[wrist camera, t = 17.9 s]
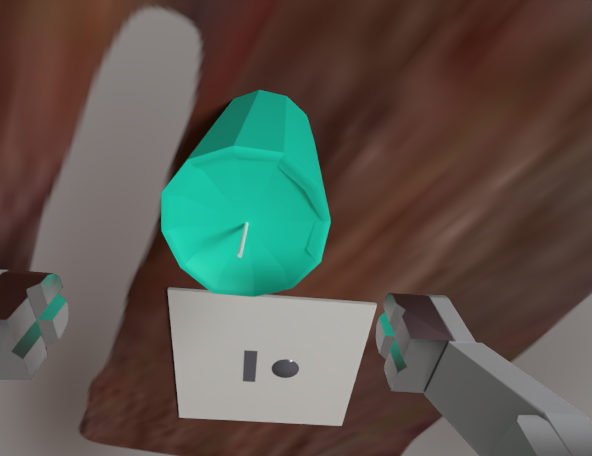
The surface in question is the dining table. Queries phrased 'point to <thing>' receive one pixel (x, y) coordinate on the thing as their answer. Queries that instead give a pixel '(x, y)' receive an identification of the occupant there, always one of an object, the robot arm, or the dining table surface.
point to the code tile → (266, 355)
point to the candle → (249, 200)
